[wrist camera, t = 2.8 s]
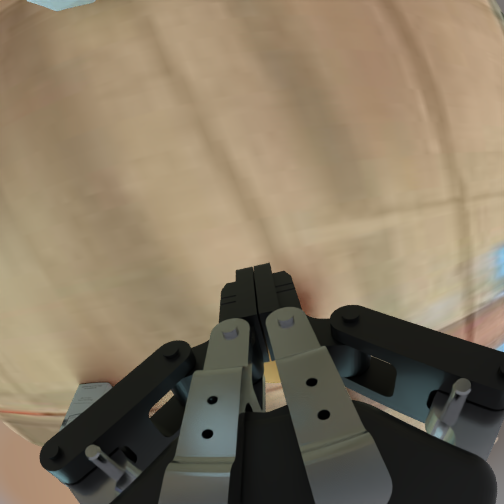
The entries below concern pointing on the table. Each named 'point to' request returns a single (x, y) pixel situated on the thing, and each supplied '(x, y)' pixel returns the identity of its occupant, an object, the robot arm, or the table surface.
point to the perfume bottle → (61, 3)
